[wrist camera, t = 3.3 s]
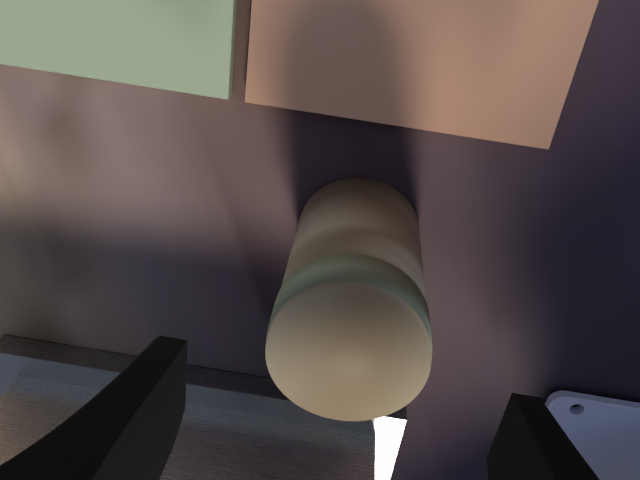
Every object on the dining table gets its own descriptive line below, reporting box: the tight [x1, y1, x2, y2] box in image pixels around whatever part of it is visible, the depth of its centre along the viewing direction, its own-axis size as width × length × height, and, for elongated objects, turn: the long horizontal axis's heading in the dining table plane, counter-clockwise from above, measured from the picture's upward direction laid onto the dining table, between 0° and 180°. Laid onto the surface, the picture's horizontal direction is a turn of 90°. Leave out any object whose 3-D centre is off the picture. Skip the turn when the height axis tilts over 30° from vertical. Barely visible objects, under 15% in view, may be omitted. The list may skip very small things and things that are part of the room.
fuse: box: [265, 177, 432, 421], centre depth 18 cm, size 4×4×6 cm
